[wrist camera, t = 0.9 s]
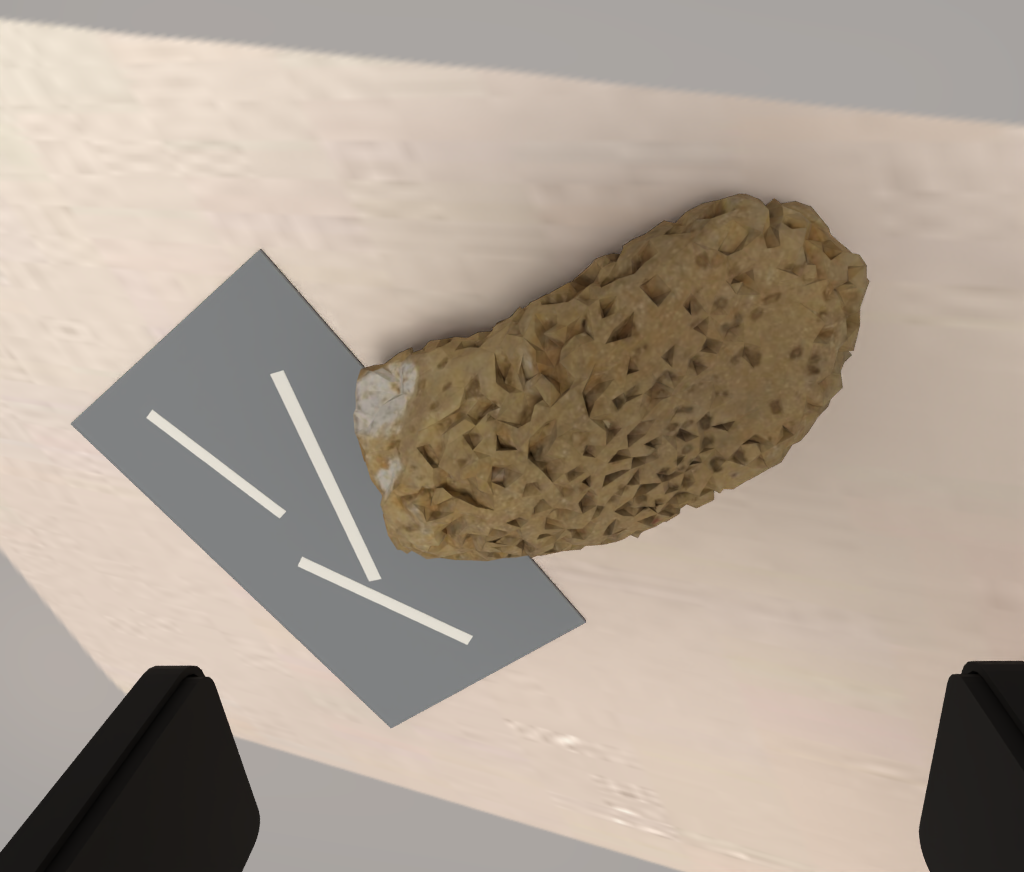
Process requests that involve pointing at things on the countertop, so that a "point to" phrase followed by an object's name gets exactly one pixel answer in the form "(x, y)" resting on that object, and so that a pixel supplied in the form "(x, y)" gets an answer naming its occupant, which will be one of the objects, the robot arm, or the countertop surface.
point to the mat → (309, 500)
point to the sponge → (617, 388)
